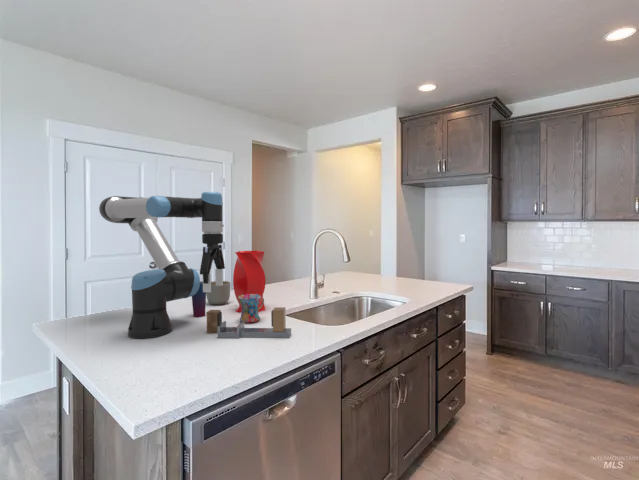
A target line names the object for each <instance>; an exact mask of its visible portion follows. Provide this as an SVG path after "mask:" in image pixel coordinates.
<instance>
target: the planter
mask: <svg viewBox="0 0 639 480" xmlns="http://www.w3.org/2000/svg"><path fill="white" fill-rule="evenodd" d="M230 297H231V282H230V281H227V280H223V286H216V280H215V281H211V292H206V301H207V302H208V303H209V304H211V305H212V306H220V305H221V306H222V305H225V304H227V303H228V302H229V300H230Z"/></svg>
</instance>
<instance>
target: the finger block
mask: <svg viewBox="0 0 639 480" xmlns="http://www.w3.org/2000/svg"><path fill="white" fill-rule="evenodd" d="M222 315H223V312H222V311H221V309H209V310H208V311H206V334H217V333H218V326H219V325H220V324H221V323H222V322H223V317H222Z"/></svg>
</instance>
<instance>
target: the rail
mask: <svg viewBox="0 0 639 480" xmlns="http://www.w3.org/2000/svg"><path fill="white" fill-rule="evenodd" d="M286 316H287V315H286V307H281V306H280V307H279V306H277V307H275V306H274V308H272V310H271V315H270V317H271V327H245V322H244V321H242V322H241V321H240V323H239V324H238V325H237V326H227V321H226V320H223V321H222V323H221V324H220V325H219V326H218V333H216V335H217V339H240V338H251V339H252V338H257V339H259V338H260V339H261V338H263V339H264V338H265V339H267V338H268V339H269V338H270V339H273V338H274V339H289V338H290V337H291V335H292V327H291V328H290V327H288V328H287V327H286V326H287V325H286V322H287V321H286V320H287V318H286Z"/></svg>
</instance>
